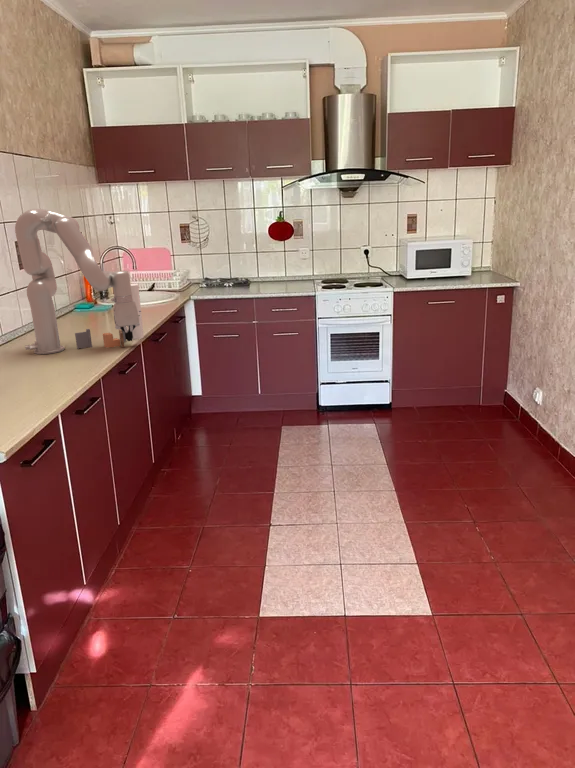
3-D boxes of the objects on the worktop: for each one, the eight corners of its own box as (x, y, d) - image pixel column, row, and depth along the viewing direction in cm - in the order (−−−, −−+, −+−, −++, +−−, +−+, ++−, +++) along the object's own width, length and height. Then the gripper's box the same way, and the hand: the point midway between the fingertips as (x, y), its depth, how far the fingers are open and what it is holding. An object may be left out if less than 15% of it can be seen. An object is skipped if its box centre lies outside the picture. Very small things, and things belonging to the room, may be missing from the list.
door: (120, 341, 273) (118, 327, 271) (122, 340, 273) (120, 327, 271) (122, 347, 260) (120, 333, 258) (124, 347, 260) (122, 333, 258)
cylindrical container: (146, 336, 282) (141, 283, 275) (139, 339, 276) (133, 286, 268) (133, 335, 284) (127, 283, 277) (125, 339, 278) (119, 285, 270)
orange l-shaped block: (107, 348, 261) (105, 335, 259) (104, 346, 265) (102, 333, 263) (120, 346, 264) (119, 333, 263) (117, 344, 268) (115, 331, 266)
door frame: (78, 349, 261) (75, 331, 259) (76, 348, 262) (74, 330, 260) (126, 341, 273) (124, 324, 270) (124, 340, 274) (122, 323, 272)
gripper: (108, 302, 250) (115, 344, 256) (142, 298, 257) (148, 339, 262) (104, 300, 256) (110, 341, 262) (138, 296, 263) (143, 336, 269)
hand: (129, 340), depth 262 cm, fingers closed
